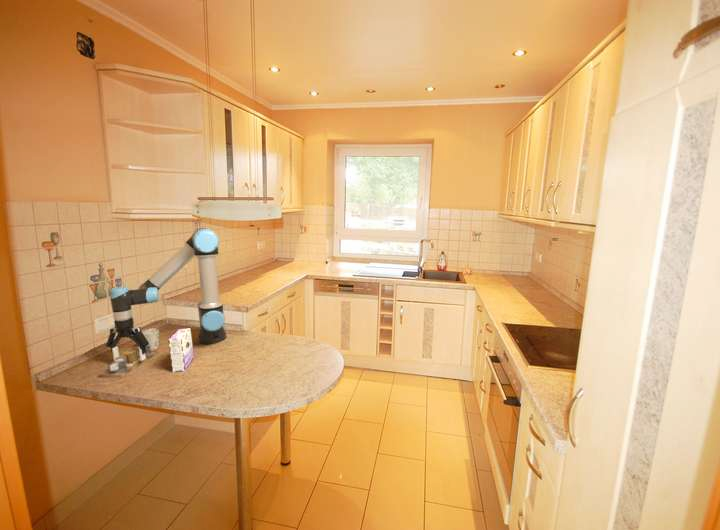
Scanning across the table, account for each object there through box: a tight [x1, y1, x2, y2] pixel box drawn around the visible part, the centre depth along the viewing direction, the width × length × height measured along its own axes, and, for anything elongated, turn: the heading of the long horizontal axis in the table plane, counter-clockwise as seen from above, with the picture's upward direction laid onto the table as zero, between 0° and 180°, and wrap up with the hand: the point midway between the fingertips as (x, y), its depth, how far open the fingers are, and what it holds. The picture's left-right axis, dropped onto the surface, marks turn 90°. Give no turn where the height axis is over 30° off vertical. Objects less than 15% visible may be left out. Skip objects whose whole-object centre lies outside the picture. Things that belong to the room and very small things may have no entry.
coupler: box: [119, 349, 139, 365], centre depth 167 cm, size 6×5×5 cm
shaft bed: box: [97, 345, 159, 378], centre depth 167 cm, size 26×11×6 cm, turn 177°
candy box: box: [168, 327, 195, 373], centre depth 163 cm, size 14×6×16 cm, turn 9°
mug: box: [141, 328, 160, 351], centre depth 185 cm, size 8×13×10 cm, turn 89°
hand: (130, 359), depth 167 cm, fingers open, 13 cm apart
